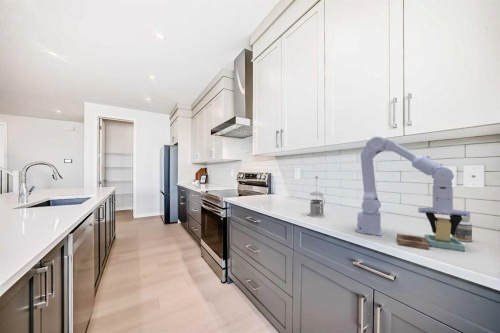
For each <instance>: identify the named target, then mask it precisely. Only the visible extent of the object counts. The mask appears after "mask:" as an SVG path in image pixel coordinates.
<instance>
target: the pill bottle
mask: <svg viewBox="0 0 500 333" xmlns="http://www.w3.org/2000/svg"><path fill="white" fill-rule="evenodd" d="M461 217H462V221H461V222H460V223H459V225H458V226H457V228H456V231H455V235H451V238H457V239H458V240H459V241H460V242H465V243H466V242H470V243H471V242H472V241H473V224H472V222H471V221H470V220H471V216H470V217H463V216H461Z"/></svg>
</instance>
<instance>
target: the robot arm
mask: <svg viewBox="0 0 500 333" xmlns="http://www.w3.org/2000/svg"><path fill="white" fill-rule="evenodd" d="M384 151H386V152H393V153H395V154H397V155H398V156H401V157H403V158H404V159H406V160H408V161H409V162H411V166H412V167H413V168H415V169H416V170H418V171H420V172H422V173H423V174H425V175H426V176H431V177H432V179H433V185H432V207H418V208H417V211H418V214H425V216H426V217H427V220H428V222H429V224H430V226H431V232H432V233H433V234H434V233H436V228H435V219H436V217H437V216H436V215H442V216H449V219H450V220H452V223H451V234H450V236H452V235H455V231H456V228H457V226H458V225H459V223H460V222H461V221H462V217H461V216H463V217H470V218H471V211H469V210H459V209H454V205H453V204H454V203H453V202H454V195H453V190H454V188H453V179H454V177H455V175H454V173H453V171H452V170H451V169H450V168H448V167H445V166H444V164H443V163H438V162H437V161H435V160H432V159H431V156H429V155H424V154H423V155H422V154H420V155H417V154H415V153H413V152H412V151H410V150H408V149H406V148H405V147H403V146H402V145H400V144H398V143H397V142H394V141H392V140H390V139H388V138H384V137H383V136H380V135H375V136H372V137H371V138H370V139H369V140H368V141H366V144H365V146H364V147H363V150H362V152H361V154H360V163H361V166H360V167H361V175H362V185H363V196H362V203H361V209H362V211H361V212H360V211H358V212H357V221H356V222H357V223H356V227H357V233H360V234H368V235H375V236H381V237H382V235H383V234H382V232H383V231H382V229H381V228H382V227H381V226H382V224H381V221H382V220H381V212H380V210H379V209H380V208H381V206H382V204H381V201H380V200H379V197H378V193H377V190H376V189H377V188H376V186H377V185H376V178H375V177H376V176H375V166H374V158H375V157H376V156H377V155H378V154H381V153H382V152H384Z"/></svg>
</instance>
